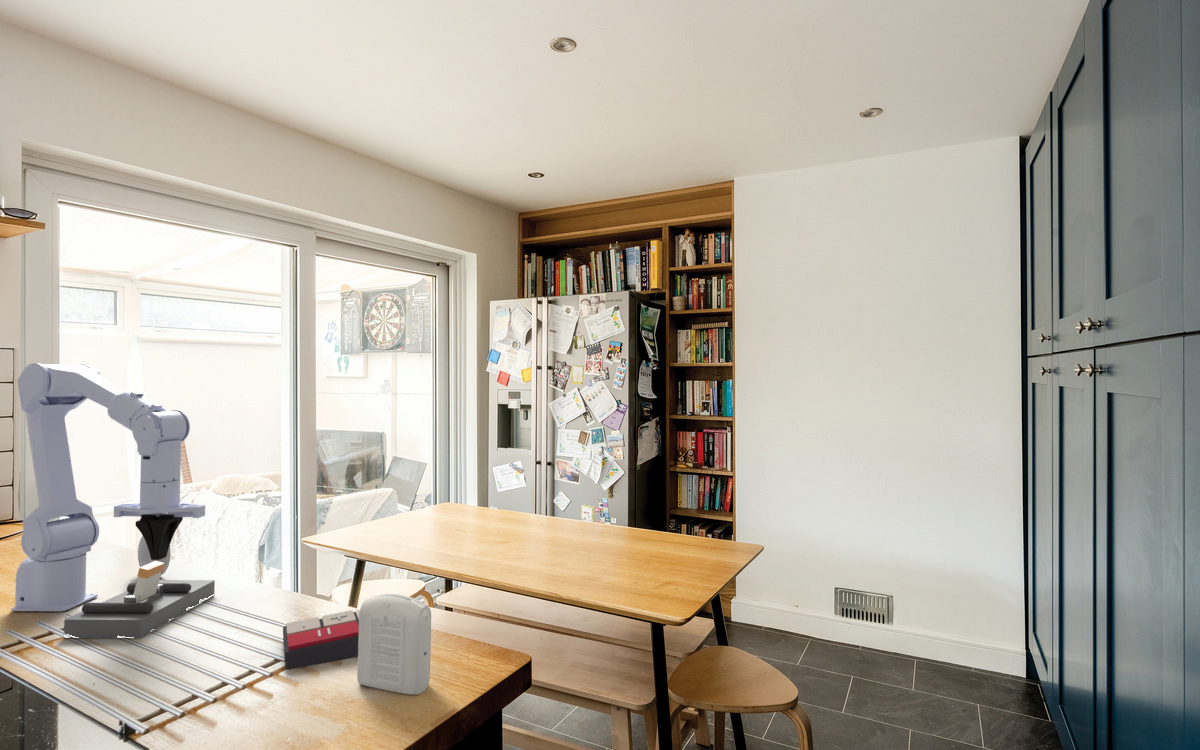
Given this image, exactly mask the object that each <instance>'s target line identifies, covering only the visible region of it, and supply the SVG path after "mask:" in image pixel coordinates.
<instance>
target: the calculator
mask: <svg viewBox="0 0 1200 750" xmlns="http://www.w3.org/2000/svg"><path fill="white" fill-rule="evenodd" d="M359 612H360V609H356V610H355V611H354V610H351V609H350V610H346V611H341V612H336V613H331V614H326V615H322V616H321V618H320V617H318V616H317V617H316V616H315V617H311V618H305V619H301V620H295V621H291V622H290V621H289V622H287V623H286V625H285V626H283V627H282V636H283V637H282V639H283V654H284V670H285V671H287V670H296V669H299V668H305V667H310V666H316V665H322V664H326V663H330V662H331V663H332V662H336V661H340V660H341V661H342V660H346V659H349V658H350V659H351V658H353V657H354V658H355V657H358V638H359Z"/></svg>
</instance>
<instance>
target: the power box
mask: <svg viewBox="0 0 1200 750" xmlns="http://www.w3.org/2000/svg"><path fill="white" fill-rule="evenodd" d="M136 583H137V582H130V583H128V585H127V587H126V591H123V592H122V593H119V594H117V595H115V596H113V597H111V598H109V599H106V600H104V601H102V602H84V604H83V605H82V607H81V611H80V612H78V613H75V614H74V615H71V616H68V617H67V618H65V619H64V621H63V634H64V633H65V634H69V635H72V636H75V637H79V638H78V639H86V638H87V639H95V640H96V639H97V640H98V639H99V640H100V639H104V640H105V639H109V640H110V639H112V640H114V639H115V638H117V636H118V635H119V636H125V637H134V638H140V639H142V638H143V637H146V636H148V635H149V634H151V633H150V631H151V630H152V629H156V630H157V628H158V629H160V628H162V627H163V626H165V625H167V624H169V622H168V621H169V619H172V618H175V619H177V618H178V616H179V617H180V616H182V615H184V614H185V612H186V608H188V607H192V606H195V605H197V604H199V600H200V599H204V598H208V597H209V596H211V595H213V594H214V595H215V583H216V582H215V579H209V580H208V579H159V583H158V587H157V591H156V594H155V595H154V596H152V597H150V598H148V599H146V600H144V601H142V602H140V595H133V594H134V590H135V587H136ZM199 605H200V604H199ZM186 613H187V612H186ZM176 617H177V618H176ZM164 624H165V625H164ZM159 627H160V628H159Z"/></svg>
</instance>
